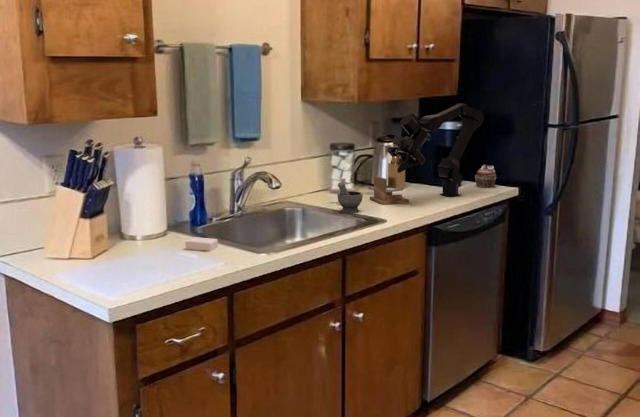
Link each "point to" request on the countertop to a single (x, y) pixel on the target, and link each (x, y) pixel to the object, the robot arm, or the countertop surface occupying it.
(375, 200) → the bronze stepped stand
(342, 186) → the mortar and pestle
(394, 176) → the bronze perfume bottle
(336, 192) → the pipe connector
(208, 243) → the soap
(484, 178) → the cupcake
